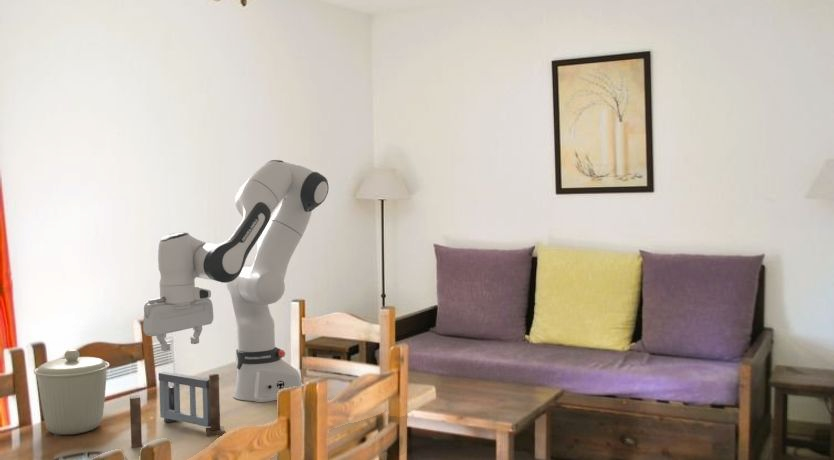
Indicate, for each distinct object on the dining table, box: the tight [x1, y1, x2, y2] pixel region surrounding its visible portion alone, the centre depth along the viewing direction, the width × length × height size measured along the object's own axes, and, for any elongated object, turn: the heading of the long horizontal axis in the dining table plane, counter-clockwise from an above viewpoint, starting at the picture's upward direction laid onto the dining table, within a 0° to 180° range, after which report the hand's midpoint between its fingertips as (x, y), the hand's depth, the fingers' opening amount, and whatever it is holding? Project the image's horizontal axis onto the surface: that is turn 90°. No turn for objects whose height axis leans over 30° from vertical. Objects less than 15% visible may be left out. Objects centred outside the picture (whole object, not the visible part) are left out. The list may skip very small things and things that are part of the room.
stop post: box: [163, 385, 180, 423], centre depth 214 cm, size 5×5×9 cm
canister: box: [33, 348, 111, 436], centre depth 206 cm, size 18×18×21 cm
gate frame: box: [129, 373, 226, 448], centre depth 197 cm, size 22×6×15 cm, turn 110°
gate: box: [158, 371, 210, 428], centre depth 207 cm, size 18×2×12 cm, turn 58°
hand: (180, 347), depth 208 cm, fingers open, 8 cm apart
